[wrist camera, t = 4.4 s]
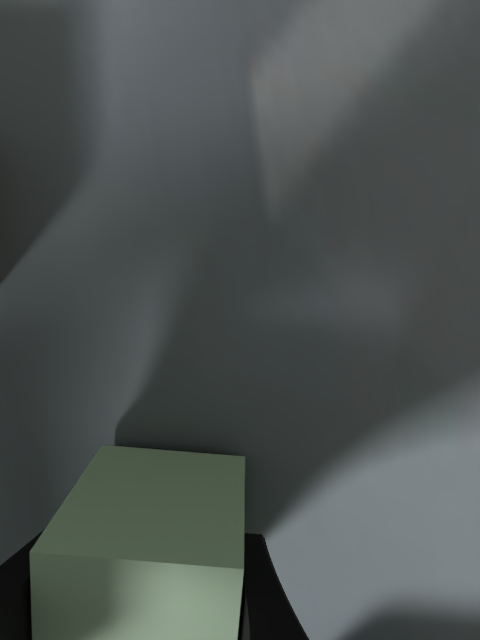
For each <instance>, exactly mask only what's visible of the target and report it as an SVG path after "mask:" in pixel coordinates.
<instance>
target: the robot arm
mask: <svg viewBox="0 0 480 640" xmlns="http://www.w3.org/2000/svg"><path fill="white" fill-rule="evenodd" d="M43 531H44V530H43ZM43 531H42V532H41V533H40V534H39V535H37V536H36V537H35V538H34V539H33V540H31V541H30V542H29V543H28V544H26V545H25V546H24V547H23V548H22V549H20V550H19V551H18V552H17V553H16V554H14V555H13V556H12V557H10V558H9V559H8V560H7V561H5V562H4V563H3V564H2V565H0V640H32V618H31V585H30V550H31V549H32V548H33V546H34V545H35V543H36V542H37V540H38V539H39V537H40V536H41V534H42V533H43ZM237 640H309V638H308V637H307V635H306V633H305V631H304V630H303V628H302V626H301V624H300V622H299V620H298V618H297V617H296V615H295V613H294V611H293V609H292V607H291V605H290V603H289V601H288V599H287V596H286V594H285V592H284V590H283V588H282V585H281V583H280V581H279V579H278V576H277V574H276V571H275V569H274V566H273V563H272V561H271V558H270V555H269V552H268V549H267V545H266V542H265V538H264V537H263V536H262V535H261V534H248V533H244V575H243V585H242V596H241V606H240V617H239V628H238V638H237Z"/></svg>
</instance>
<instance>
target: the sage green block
mask: <svg viewBox="0 0 480 640" xmlns="http://www.w3.org/2000/svg"><path fill="white" fill-rule="evenodd" d="M244 521H245V456H233V455H220V454H208V453H195V452H183V451H170V450H158V449H145V448H133V447H120V446H108V445H101V447H100V448H99V450H98V451H97V453H96V454H95V456H94V457H93V459H92V460H91V462H90V463H89V465H88V466H87V468H86V469H85V470H84V472H83V473H82V475H81V476H80V478H79V479H78V481H77V482H76V484H75V485H74V487H73V488H72V490H71V491H70V493H69V494H68V496H67V497H66V499H65V500H64V502H63V503H62V505H61V506H60V508H59V509H58V510H57V512H56V513H55V515H54V516H53V518H52V519H51V521H50V522H49V524H48V525H47V527H46V528H45V530H44V531H43V533H42V534H41V536H40V537H39V539H38V540H37V542H36V543H35V545H34V546H33V548H32V549H31V550H30V585H31V618H32V640H237V638H238V628H239V617H240V606H241V596H242V585H243V575H244Z"/></svg>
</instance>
